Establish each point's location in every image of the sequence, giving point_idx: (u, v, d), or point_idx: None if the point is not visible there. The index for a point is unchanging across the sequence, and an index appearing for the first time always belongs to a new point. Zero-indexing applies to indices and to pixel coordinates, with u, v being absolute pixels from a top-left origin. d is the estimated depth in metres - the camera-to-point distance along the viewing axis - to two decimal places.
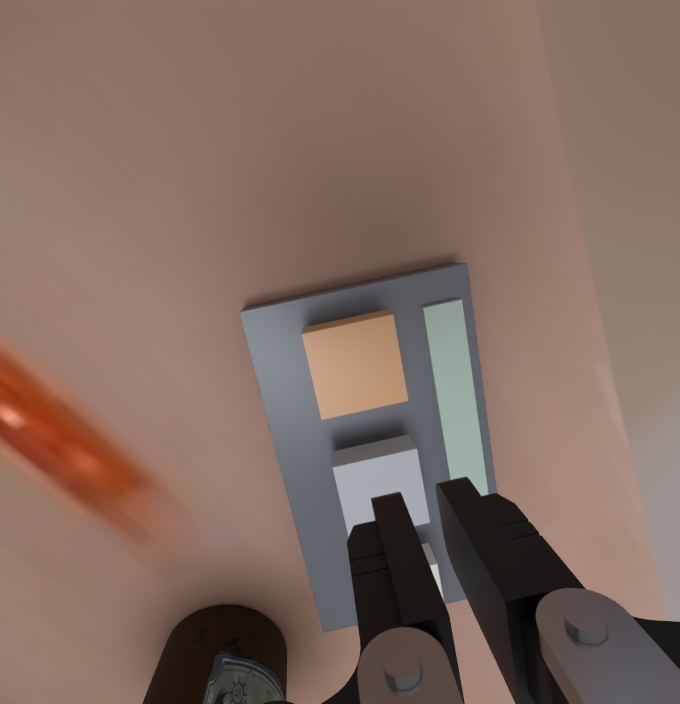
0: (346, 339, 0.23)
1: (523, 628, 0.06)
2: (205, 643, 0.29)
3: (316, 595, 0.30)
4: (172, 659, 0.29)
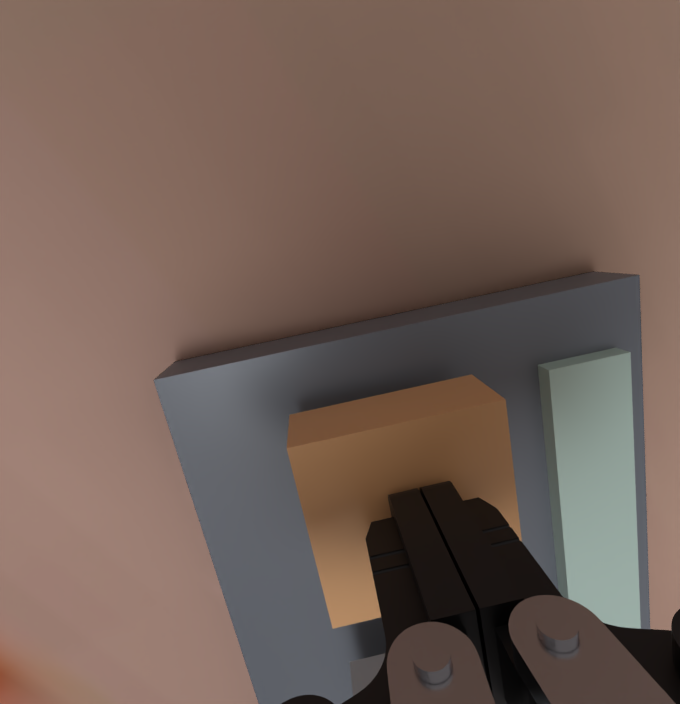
0: (393, 458, 0.10)
1: (498, 636, 0.06)
2: None
3: None
4: None
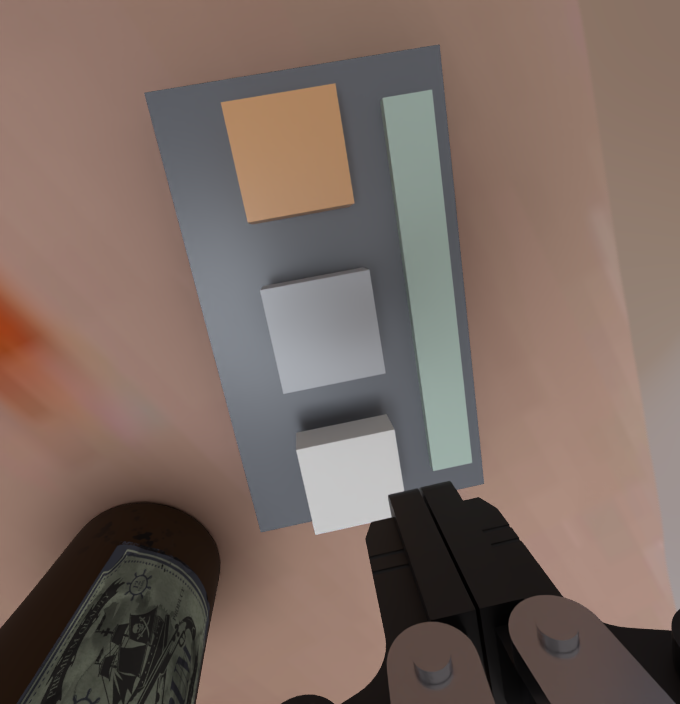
0: (277, 113, 0.19)
1: (499, 635, 0.06)
2: (109, 536, 0.23)
3: (251, 484, 0.25)
4: (67, 554, 0.23)
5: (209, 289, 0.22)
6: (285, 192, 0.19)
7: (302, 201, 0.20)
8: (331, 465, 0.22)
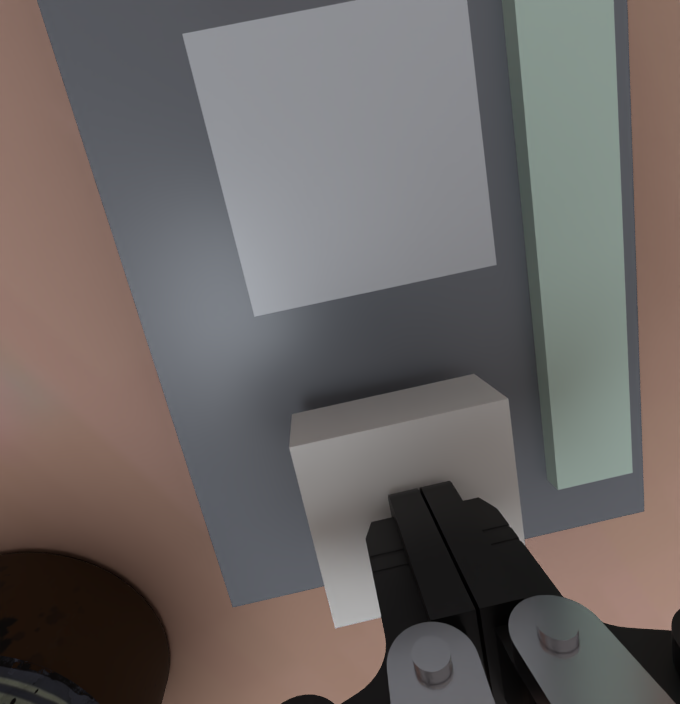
0: None
1: (498, 635, 0.06)
2: None
3: (210, 520, 0.13)
4: None
5: (101, 112, 0.10)
6: None
7: None
8: (368, 479, 0.10)
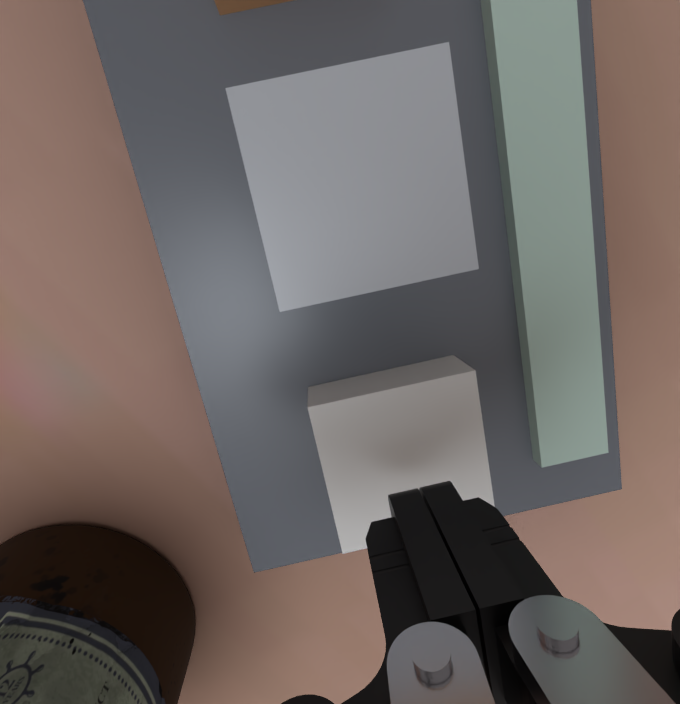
0: None
1: (498, 635, 0.06)
2: None
3: (235, 493, 0.15)
4: None
5: (148, 142, 0.12)
6: None
7: None
8: (368, 433, 0.13)
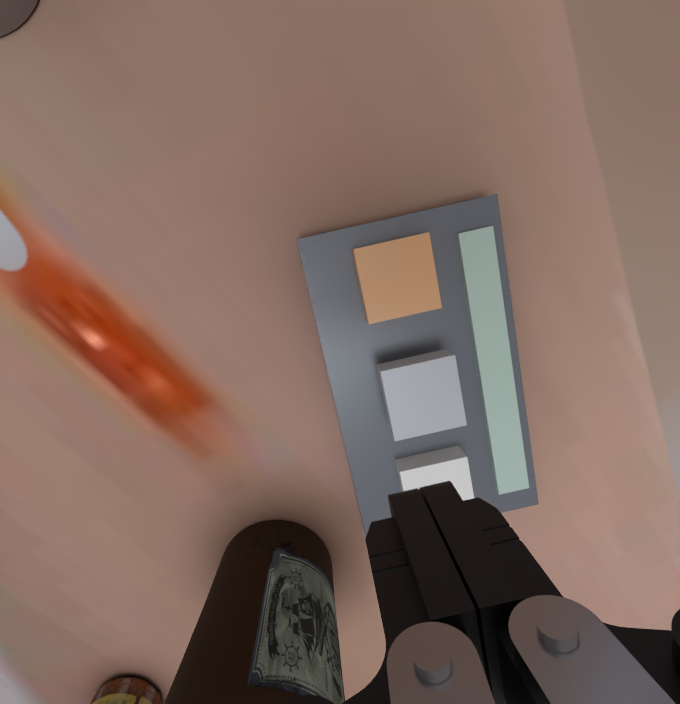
0: (390, 253, 0.28)
1: (498, 635, 0.06)
2: (262, 544, 0.32)
3: (361, 506, 0.33)
4: (234, 557, 0.32)
5: (335, 365, 0.31)
6: (394, 303, 0.28)
7: (406, 308, 0.28)
8: (423, 482, 0.31)
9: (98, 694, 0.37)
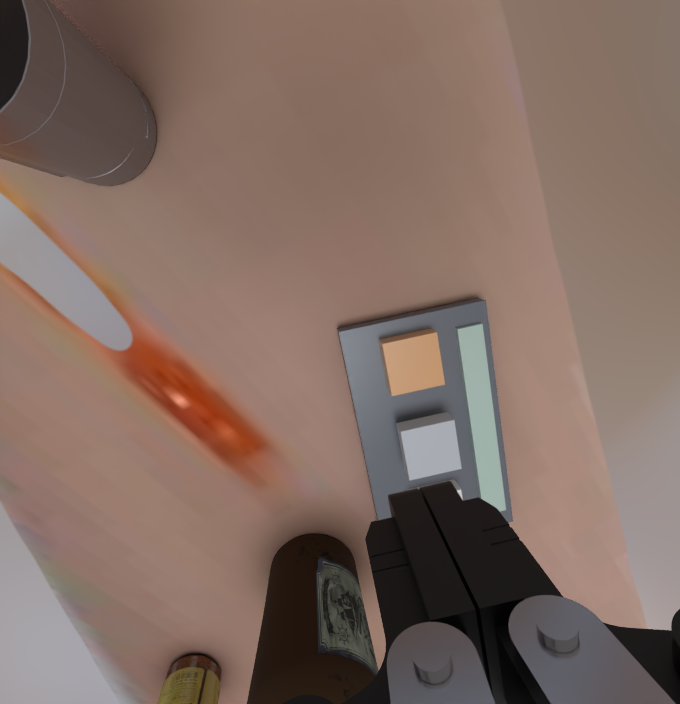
0: (408, 347, 0.38)
1: (498, 636, 0.06)
2: (307, 554, 0.43)
3: None
4: (286, 564, 0.43)
5: (364, 422, 0.42)
6: (411, 381, 0.39)
7: (419, 385, 0.39)
8: None
9: (173, 668, 0.47)
